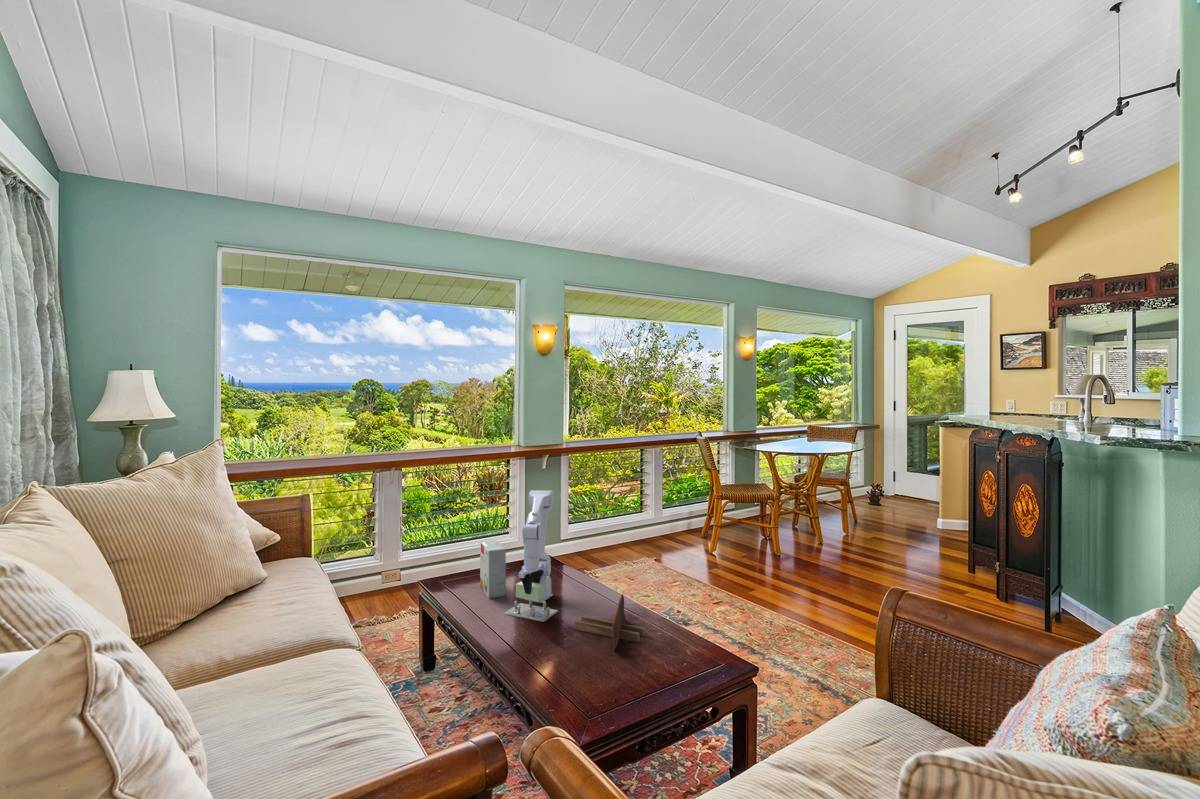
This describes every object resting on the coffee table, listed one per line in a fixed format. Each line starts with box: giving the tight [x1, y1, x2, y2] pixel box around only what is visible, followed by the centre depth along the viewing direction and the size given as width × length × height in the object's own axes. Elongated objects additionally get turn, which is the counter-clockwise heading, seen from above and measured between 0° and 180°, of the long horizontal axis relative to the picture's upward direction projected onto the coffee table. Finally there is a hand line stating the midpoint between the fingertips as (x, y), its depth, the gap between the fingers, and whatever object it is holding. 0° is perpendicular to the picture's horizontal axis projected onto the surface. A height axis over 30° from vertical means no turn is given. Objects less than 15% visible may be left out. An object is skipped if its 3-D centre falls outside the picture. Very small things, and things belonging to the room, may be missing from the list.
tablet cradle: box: [574, 615, 645, 643], centre depth 192 cm, size 6×24×3 cm, turn 64°
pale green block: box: [515, 580, 545, 602], centre depth 210 cm, size 10×4×5 cm, turn 64°
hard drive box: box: [479, 539, 507, 599], centre depth 233 cm, size 16×8×20 cm, turn 25°
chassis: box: [505, 600, 559, 623], centre depth 209 cm, size 17×10×4 cm, turn 64°
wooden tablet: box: [612, 594, 626, 651], centre depth 190 cm, size 26×2×10 cm, turn 171°
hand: (531, 591), depth 209 cm, fingers closed on pale green block, 4 cm apart
